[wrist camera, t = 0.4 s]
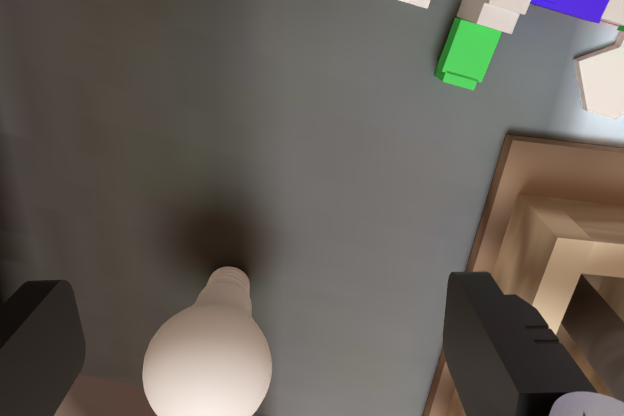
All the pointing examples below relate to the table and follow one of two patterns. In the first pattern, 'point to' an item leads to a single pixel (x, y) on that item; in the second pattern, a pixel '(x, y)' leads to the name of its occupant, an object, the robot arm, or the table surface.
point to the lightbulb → (210, 354)
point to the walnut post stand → (585, 300)
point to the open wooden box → (560, 261)
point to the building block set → (502, 17)
